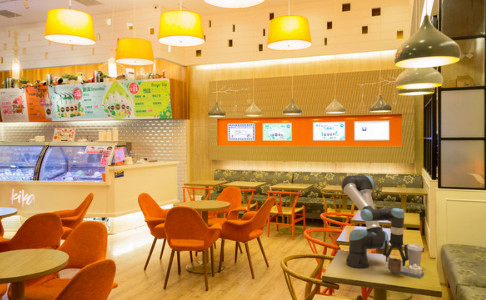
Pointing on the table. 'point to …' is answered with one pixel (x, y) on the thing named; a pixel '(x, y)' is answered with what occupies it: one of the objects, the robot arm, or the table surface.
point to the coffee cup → (414, 254)
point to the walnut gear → (394, 264)
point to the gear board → (411, 271)
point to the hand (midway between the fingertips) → (395, 268)
